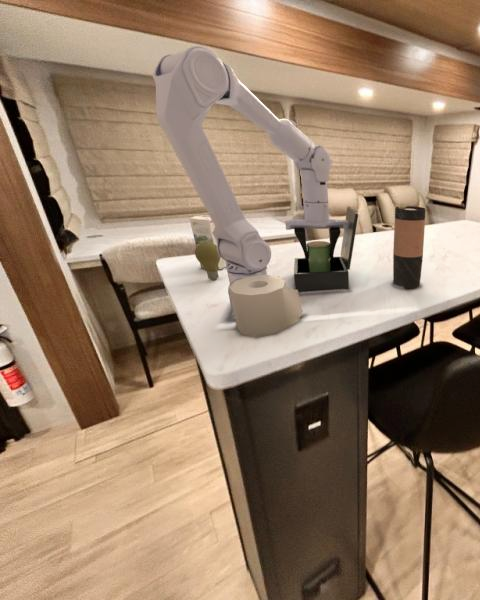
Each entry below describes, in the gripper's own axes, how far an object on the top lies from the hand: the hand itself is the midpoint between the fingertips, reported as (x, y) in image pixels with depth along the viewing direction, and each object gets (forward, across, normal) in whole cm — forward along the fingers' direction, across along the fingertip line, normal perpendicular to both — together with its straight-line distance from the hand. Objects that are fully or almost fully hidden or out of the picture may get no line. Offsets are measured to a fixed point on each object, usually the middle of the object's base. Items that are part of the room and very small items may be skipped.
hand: (319, 257), depth 78 cm
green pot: (+3, 0, 0) cm, 3 cm away
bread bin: (+7, 0, 0) cm, 7 cm away
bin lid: (-5, -7, 0) cm, 9 cm away
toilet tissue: (+8, +11, +20) cm, 24 cm away
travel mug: (+7, -22, +5) cm, 24 cm away
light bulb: (+7, +27, -8) cm, 29 cm away
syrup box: (+7, +29, -20) cm, 36 cm away
